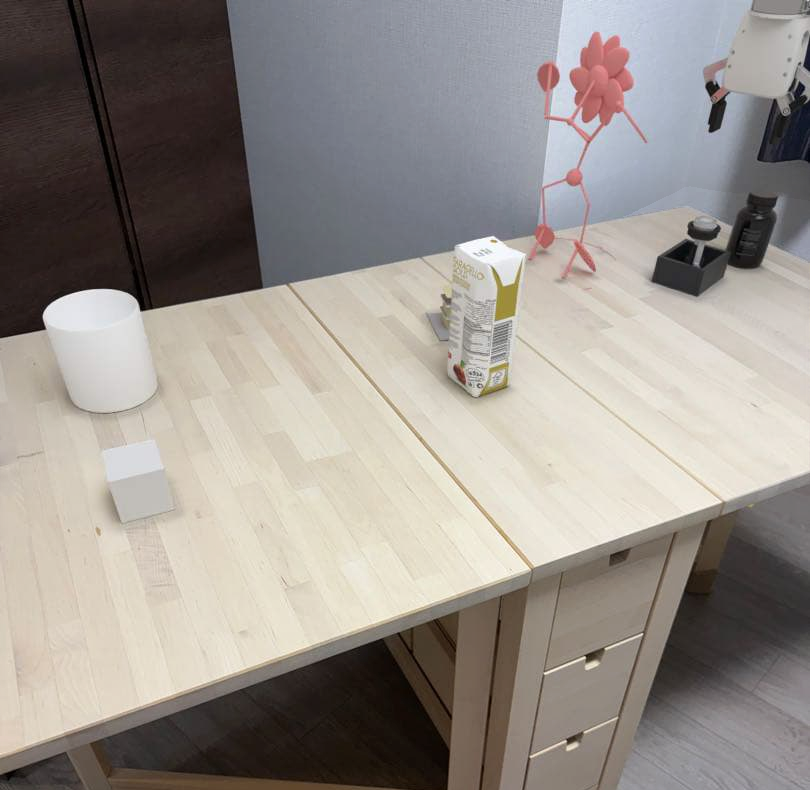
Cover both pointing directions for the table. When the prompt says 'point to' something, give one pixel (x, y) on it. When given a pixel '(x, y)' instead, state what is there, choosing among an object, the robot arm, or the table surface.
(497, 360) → the juice carton
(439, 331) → the stacked layers on plate
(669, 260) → the open box
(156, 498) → the light grey cube
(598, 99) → the figurine
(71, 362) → the cup
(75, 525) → the table surface
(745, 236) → the supplement bottle
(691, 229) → the push button
